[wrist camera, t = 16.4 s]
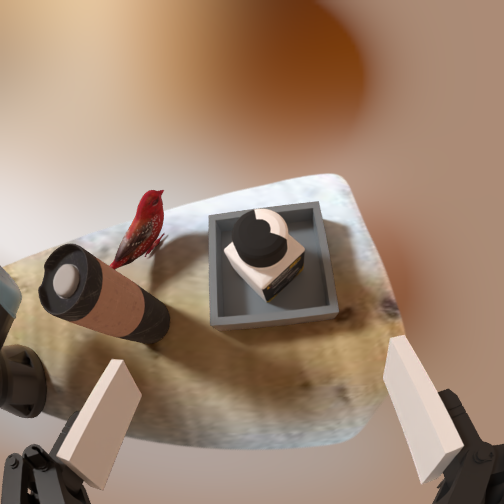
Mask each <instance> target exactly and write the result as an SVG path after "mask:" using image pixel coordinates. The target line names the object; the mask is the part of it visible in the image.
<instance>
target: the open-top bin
mask: <svg viewBox="0 0 504 504" xmlns="http://www.w3.org/2000/svg"><path fill="white" fill-rule="evenodd" d="M258 209H268V210H272V211H274V212H276V213H278V214H279V215H280V216H281V217H282V218H283V219H284V220H285V222H286V224H287V228H288V234H289V235H290V236H292V237H293V238H294V239H295V240H296V241H297V242H298V243H300V244H301V245H302V246H303V247H304V248H305V254H304V268H303V270H302V271H301V272H300V273H299V274H298V275H297V276H296V277H295V278H294V279H293V280H292V281H291V282H290V283H289V284H288V285H287V286H286V287H285V288H284V289H283V290H282V291H281V292H280V293H278V294H277V295H276V296H275V297H274V298H273V299H272V300H271V301H270V302H268V303H267V302H265V301H264V300H263V299H262V298H261V297H260V296H259V295H258V294H257V293H256V292H255V291H254V290H253V289H252V288H251V287H250V286H249V285H248V284H247V283H246V282H245V281H244V279H243V278H242V277H241V276H240V275H239V274H238V273H237V272H236V271H235V270H234V268H233V266H232V265H231V263H230V261H229V259H228V258H227V256H226V254H225V252H224V249H225V248H226V247H227V246H228V245H229V244H231V243H232V242H233V241H232V230H233V227H234V224H235V223H236V221H237V220H238V219H239V218H240V217H241V216H242V215H243V214H245V213H247V212H249V211H251V210H255V209H251V210H243V211H236V212H229V213H222V214H215V215H209V298H210V326H212V327H213V328H215V329H217V330H218V331H225V330H238V329H250V328H261V327H271V326H281V325H290V324H298V323H307V322H314V321H322V320H329V319H334V318H335V317H336V316H337V314H338V313H339V308H338V301H337V295H336V289H335V283H334V277H333V271H332V265H331V260H330V254H329V249H328V244H327V239H326V234H325V229H324V224H323V219H322V214H321V210H320V205H319V201H317V202H308V203H299V204H291V205H282V206H274V207H266V208H258Z"/></svg>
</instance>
